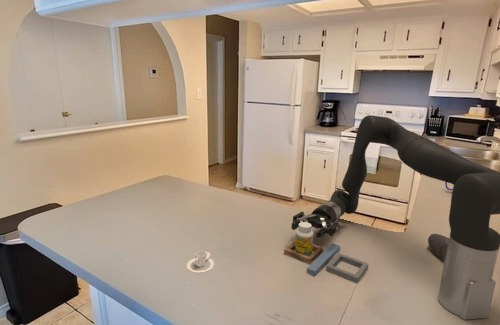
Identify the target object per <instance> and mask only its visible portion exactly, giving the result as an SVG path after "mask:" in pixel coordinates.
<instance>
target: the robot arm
mask: <svg viewBox="0 0 500 325" xmlns="http://www.w3.org/2000/svg"><path fill="white" fill-rule="evenodd" d="M370 143H371V144H382V145H386V146H389V147H390V148H392V149H394V150H396V151H397V156H398V157H399V160H400V161H401V162H402V163H403V164H404V165H406V166H407V167H409V168H410V169H411V170H413V171H414V172H417V173H418V174H420V175H422V176H425V177H428V178H431V179H433V180H434V179H435V180H438V181H441V182H447V183H448V184H451V185H453V186H454V188H452V189H453V190H452V193H451V198H450V207H449V208H450V209H449V216H448V223H449V224H448V225H449V228H450V234H449V237H448V238H449V242H448V247H447V252H446V257H445V261H444V263H443V267H442V274H441V279H440V284H439V290H438V294H437V295H438V296H437V301H438V302H439V303H440V305H441V306H442V307H443V308H444V309H445V310H447V311H448V312H450V313H452V314H455V315H456V316H458V317H460V318H461V319H462V320H474V319H487V318H488V316H489V312H490V309H491V304H492V300H493V297H494V291H495V288H496V284H497V282H496V281H495V280H494V279H493V276H494V271H495V268H496V263H497V259H498V254H499V250H500V233H499V232H498V231H497V230H495V229H493V228H492V227H490V223H491V222H490V220H491V216H493V215H500V171H498V170H496V169H492V168H489V167H487V166H484V165H482V164H479V163H476V162H474V161H471V160H470V159H467V158H465V157H464V156H461V155H460V154H457V152H454V151H453V150H450V149H448V148H446V147H445V146H443V145H441V144H439V143H437V142H436V141H433V140H431V139H429V138H428V137H425V136H423V135H420V134H418V133H415V131H414V132H413V131H411V130H409V129H407V128H405V127H404V126H402V125H401V124H399V123H398V122H397V121H395V120H394V119H392V118H389V117H387V116H380V115H379V116H378V115H372V114H371V115H366V116H364V117H363V118H362V119H361V121H360V123H359V126H358V128H357V132H356V136H355V139H354V144H353V149H352V152H351V157H350V162H349V165H348V167H347V169H346V172H345V175H344V177H343V179H342V181H341V187H342V188H343V190H341V189H336V190H335V191H333V192H332V194H331V197H330V199H329V200H328V201H327V202H323V203H322V204H321V205H320V206H318V207H316V208H315V209H313V211H312V212H311V213H310V214H307V215H306V214H305V212H304V211H300V212H298V213H296V214H295V215H293V216H292V222H291V227H290V228H291V230H293V231H295V230H298V229H299V228H298V227H299V223H301V222H307V223H310V224H311V225H312V228H315V229H318V230H317V231H316V235H315V236H316V237H315V238H317V239H319V238H323V237H324V236H327V235H328V236H330V237H334V235H335V234H336V233H337V232H338V231H339V226H340V225H339V221H338V220H339V219H340V218H341V217H342V216H343V215H344V214H346V215H347V214H348V215H352V214H354V213H355V212H356V210H357V209H358V206H359V200H360V192H361V188H362V186H363V184H364V182H365V181H366V177H367V174H368V173H367V172H368V166H367V165H368V164H367V160H366V151H367V149H368V146H369V145H370Z"/></svg>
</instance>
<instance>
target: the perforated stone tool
mask: <svg viewBox="0 0 500 325" xmlns="http://www.w3.org/2000/svg"><path fill="white" fill-rule="evenodd" d="M427 242H428V246H429V249H430V250H431V251H432V252H433V253H434V254H435V255H436V256H437V257H439V258H440V259H441V260H442V261H443V262H445V257H446V252H447V247H448V242H449V237H447V236H446V235H442V234H439V233H432V234H429V236H428V238H427Z"/></svg>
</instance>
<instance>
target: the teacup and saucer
mask: <svg viewBox="0 0 500 325" xmlns="http://www.w3.org/2000/svg"><path fill="white" fill-rule="evenodd" d="M211 257H212V256H211V253H210V252H209V251H204V250H197V251H195V253H194V258H192V259H190V260H189V261H188V262H187V263H186V268H187V271H189V272H192V273H196V274H198V273H200V274H201V273H206V272H208V271H210V270H212V269H213V268H214V267H215V262H214V260H213V259H212V258H211ZM207 261H208V262H209V263H210V265H209V267H208V268H206V269H203V270H196V269H194V268H192V267H191V265H192V263H193V262H194V263H195V265H196V266H197V267H198V268H202V267H205V264H206V262H207Z"/></svg>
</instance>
